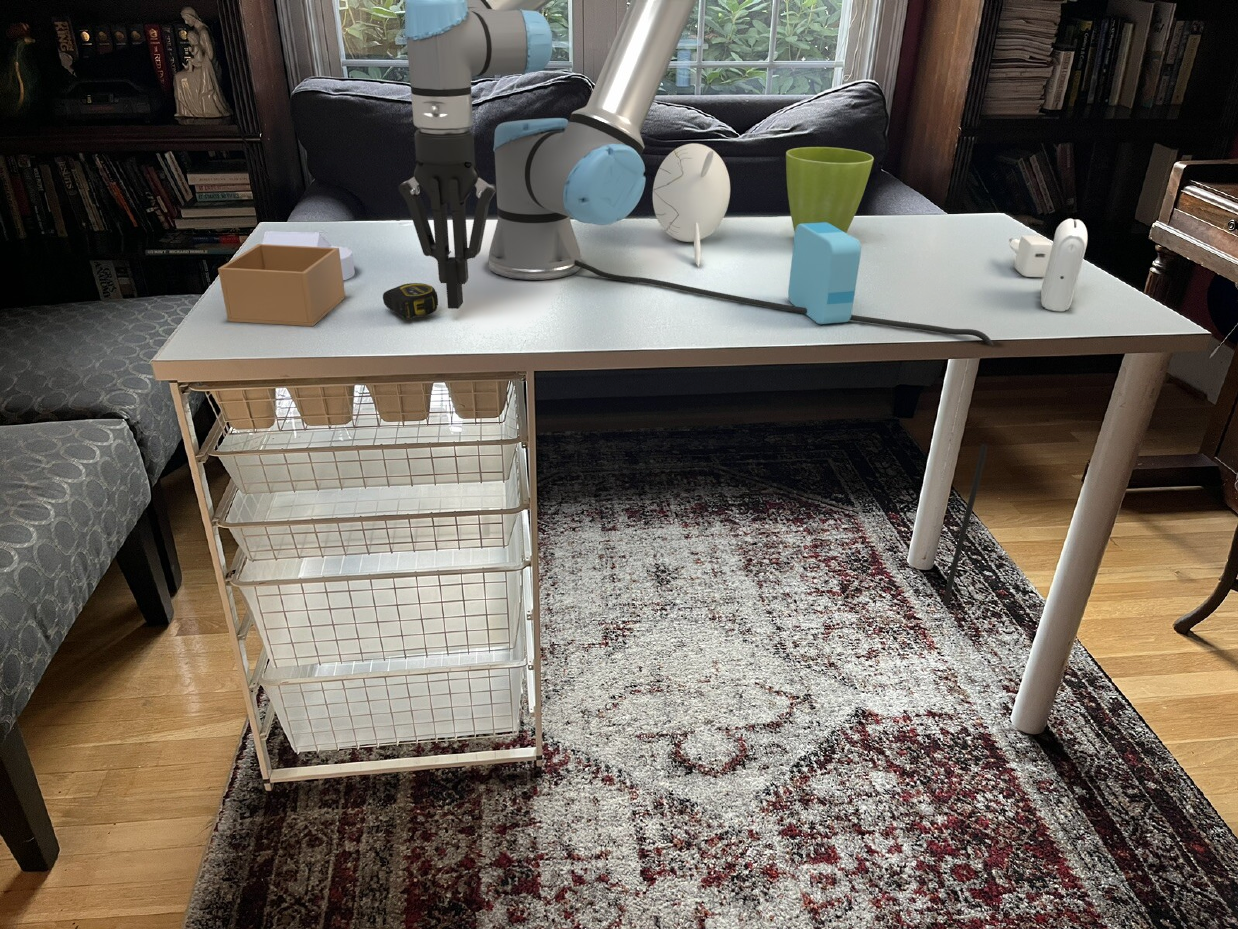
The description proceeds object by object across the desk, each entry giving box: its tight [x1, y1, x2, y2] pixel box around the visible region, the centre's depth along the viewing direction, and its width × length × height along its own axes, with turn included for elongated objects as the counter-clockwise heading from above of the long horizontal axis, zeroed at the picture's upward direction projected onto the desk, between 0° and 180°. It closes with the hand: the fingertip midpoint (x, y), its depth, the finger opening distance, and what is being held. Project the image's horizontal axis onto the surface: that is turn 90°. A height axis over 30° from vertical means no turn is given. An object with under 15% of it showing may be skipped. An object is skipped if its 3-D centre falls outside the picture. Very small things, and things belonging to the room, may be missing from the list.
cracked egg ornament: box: [652, 143, 731, 268], centre depth 161 cm, size 19×14×25 cm
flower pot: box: [785, 146, 875, 234], centre depth 162 cm, size 15×15×16 cm
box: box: [217, 243, 346, 327], centre depth 130 cm, size 12×12×8 cm
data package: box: [787, 222, 862, 325], centre depth 132 cm, size 12×4×12 cm, turn 15°
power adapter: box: [1008, 234, 1053, 278], centre depth 155 cm, size 11×5×6 cm, turn 176°
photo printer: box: [1040, 218, 1088, 312], centre depth 139 cm, size 10×4×12 cm, turn 158°
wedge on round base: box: [261, 230, 356, 281], centre depth 145 cm, size 9×7×13 cm
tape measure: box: [382, 282, 439, 320], centre depth 130 cm, size 7×7×4 cm
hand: (455, 305), depth 129 cm, fingers closed
